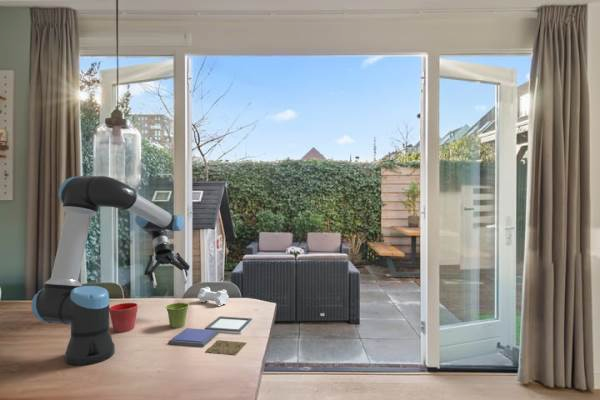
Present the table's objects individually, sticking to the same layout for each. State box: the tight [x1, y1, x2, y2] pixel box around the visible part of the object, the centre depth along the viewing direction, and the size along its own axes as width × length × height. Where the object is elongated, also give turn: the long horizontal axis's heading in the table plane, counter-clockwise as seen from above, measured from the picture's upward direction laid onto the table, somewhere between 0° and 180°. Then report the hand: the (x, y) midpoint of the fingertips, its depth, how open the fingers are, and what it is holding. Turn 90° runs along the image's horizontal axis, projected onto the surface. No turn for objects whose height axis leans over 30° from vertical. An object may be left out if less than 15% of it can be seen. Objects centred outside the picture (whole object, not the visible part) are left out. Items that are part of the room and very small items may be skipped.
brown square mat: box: [204, 339, 247, 356], centre depth 138 cm, size 12×12×1 cm
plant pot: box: [165, 302, 190, 329], centre depth 161 cm, size 9×9×9 cm
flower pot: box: [109, 302, 139, 333], centre depth 157 cm, size 11×11×10 cm
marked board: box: [204, 316, 254, 335], centre depth 161 cm, size 16×16×1 cm
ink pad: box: [168, 327, 220, 348], centre depth 147 cm, size 14×14×2 cm
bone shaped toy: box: [197, 286, 230, 306], centre depth 195 cm, size 15×9×8 cm, turn 60°
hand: (170, 284), depth 170 cm, fingers open, 13 cm apart
